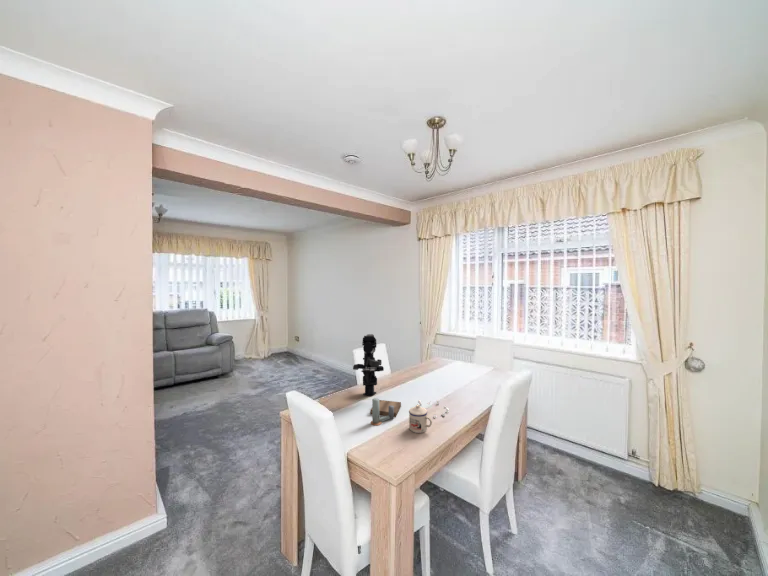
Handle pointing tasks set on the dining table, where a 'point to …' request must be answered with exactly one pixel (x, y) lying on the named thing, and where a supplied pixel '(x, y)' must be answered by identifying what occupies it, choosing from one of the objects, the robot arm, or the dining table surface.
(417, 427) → the teacup with lid
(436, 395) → the dining table surface
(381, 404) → the stool seat
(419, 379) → the dining table surface
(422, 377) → the dining table surface
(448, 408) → the game piece set
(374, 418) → the grey u-shaped piece
